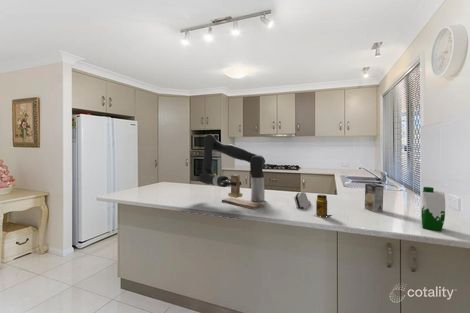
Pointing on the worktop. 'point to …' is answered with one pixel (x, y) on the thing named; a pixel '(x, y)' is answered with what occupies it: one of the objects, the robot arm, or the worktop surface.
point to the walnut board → (243, 203)
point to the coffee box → (374, 197)
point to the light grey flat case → (301, 200)
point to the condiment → (321, 205)
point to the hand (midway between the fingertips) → (238, 183)
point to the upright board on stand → (235, 187)
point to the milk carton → (433, 209)
